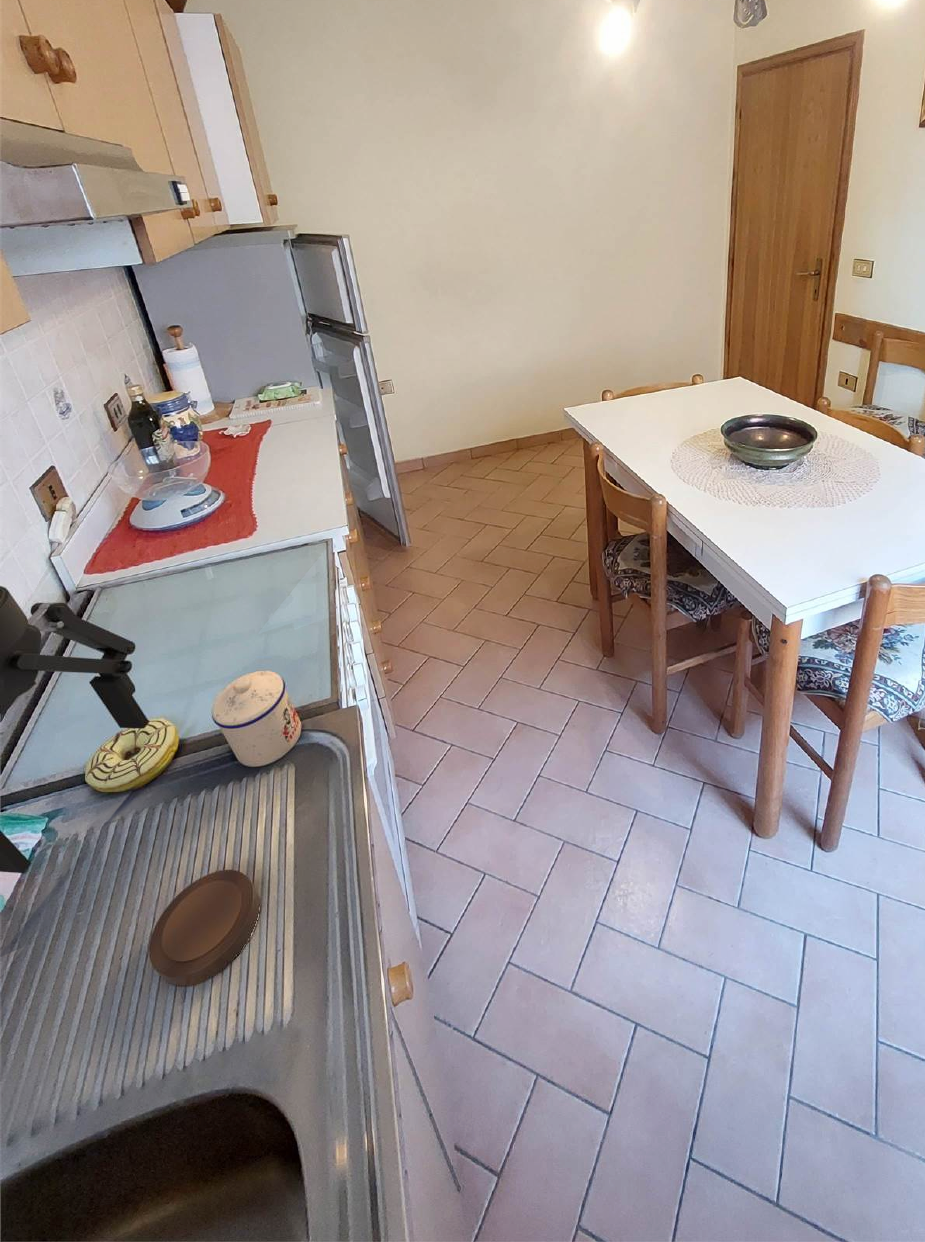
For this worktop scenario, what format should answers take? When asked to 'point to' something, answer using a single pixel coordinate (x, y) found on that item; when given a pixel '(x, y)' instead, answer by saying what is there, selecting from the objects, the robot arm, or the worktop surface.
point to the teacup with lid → (257, 718)
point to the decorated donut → (120, 774)
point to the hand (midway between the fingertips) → (80, 789)
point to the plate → (204, 928)
